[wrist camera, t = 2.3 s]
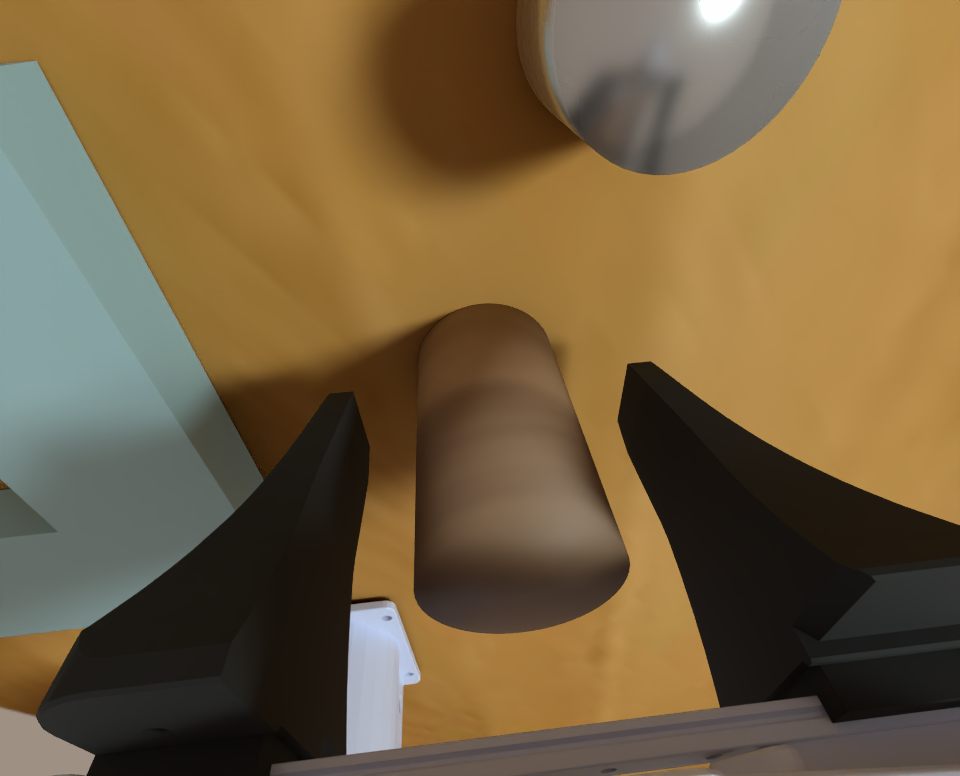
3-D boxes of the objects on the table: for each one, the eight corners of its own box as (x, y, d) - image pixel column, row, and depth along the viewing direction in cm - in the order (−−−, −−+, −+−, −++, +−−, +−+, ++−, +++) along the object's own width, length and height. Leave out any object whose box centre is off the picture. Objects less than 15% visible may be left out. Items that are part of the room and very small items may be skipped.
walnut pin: (548, 405, 15) (614, 621, 10) (427, 418, 15) (428, 643, 10) (553, 297, 13) (646, 507, 7) (408, 310, 13) (396, 535, 7)
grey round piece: (693, 123, 10) (787, 164, 8) (516, 138, 10) (549, 185, 8) (748, -143, 8) (914, -220, 5) (514, -128, 8) (561, -198, 5)
